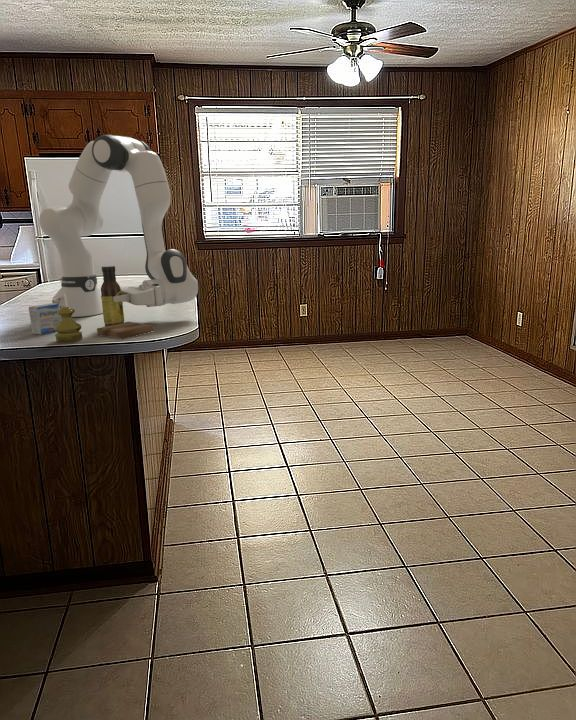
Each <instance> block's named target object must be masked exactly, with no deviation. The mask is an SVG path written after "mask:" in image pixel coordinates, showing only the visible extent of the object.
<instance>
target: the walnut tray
mask: <svg viewBox="0 0 576 720" xmlns="http://www.w3.org/2000/svg"><path fill="white" fill-rule="evenodd" d="M151 331H154V332H155V325H154V324H150V323H149V324H148V323H142V322H134V321H133V322H132V321H126V322H125V321H124V323H120V324H115V325H111V326H106V327H105V326H102V327H98V328H96V333H97V336H101V335H102V336H101V337H107V336H108V337H107V338H113V339H121V340H125V339H129V338H134V337H137V336H136V335H138V336H141V335H140V334H142V335H145V334H144V333H146V334H149V333H148V332H150V333H152V332H151ZM133 336H134V337H133Z"/></svg>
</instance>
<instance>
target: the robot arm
mask: <svg viewBox="0 0 576 720" xmlns="http://www.w3.org/2000/svg"><path fill="white" fill-rule="evenodd" d="M113 171H117V172H123V173H125V172H128V173H129V174H130V176H131V179H132V182H133V186H134V191H135V195H136V200H137V203H138V204H137V205H138V208H139V214H140V220H141V226H142V232H143V238H144V245H145V250H146V258H145V259H146V260H145V265H144V268H145V270H144V271H145V272H146V275H147V277H148V278H149V279H145V280H143V281H142V283H141V284H139V285H138V286H135V285H134V286H120V288H121V294H122V295H120V296H112V301H114V302H123V303H128V304H130V305H134V306H146V307H147V308H153V307H161V306H165V305H167V304H169V305H177V304H179V305H180V304H184V303H185V304H186V303H188V302H191V301H193V300H194V299H196V297H197V296H198V292H199V282H198V280H197V278H196V277H195V276H194V275H193V274H192V272H191V271H190V269H189V266H188V264H187V259H186V257H185V255H184V254H183V252H181V251H179V250H178V249H174V248H170V249H167V250H166V246H165V241H164V236H163V231H162V230H163V229H162V225H163V221H164V217H165V216H166V213H167V212H168V210H169V209H170V207H171V197H172V196H171V189H170V185H169V181H168V177H167V172H166V171H165V167H164V166H163V162H162V160H161V159H160V156H159V155H158V154H157V153H156V152H154V151H152V150H151V148H150V146H149V145H148V144H147V143H145V142H144V141H142V140H140V139H137V138H133V137H130V136H125V135H113V134H102V135H99V136H98V137H96V138H95V140H92V141H89V142H88V143H87V144H86V145H85V147H84V149H83V150H82V152H81V154H80V155H79V158H78V159H77V163H76V165H75V167H74V170H73V172H72V174H71V177H70V180H69V182H68V190H69V191H70V193H71V195H72V201H71V203H70V204H69V205H54V206H50V207H47V208H44V209H43V210H42V211H41V212H40V214H39V218H38V221H39V227H40V229H41V231H42V232H43V233H44V234H45V235H46V236H48V237H49V239H51V242H53V243H54V246H55V248H56V249H57V252H58V255H59V258H60V264H61V271H62V277H61V278H59V282H61V284H60V286H61V287H60V289H59V290H58V291H57V293H55V294H54V296H53V297H52V299H51V301H52V302H51V303H55V304H59V309H62V307H69V308H72V309H74V310H75V312H74V313H73V314H72V316H71V317H72V318H76V317H77V318H78V317H90V316H97V315H100V314H103V308H102V299H101V289H100V288H99V287H98V286H97V285H98V277H97V275H96V274H95V265H94V257H93V253H92V252H91V251H90V249H88V248H87V247H86V246H85V245H84V243H83V240H82V238H81V237H88V236H89V237H90V236H91V235H95V234H97V233H99V232H100V231H101V230H102V228H103V225H104V218H103V215H102V213H101V211H100V203H101V199H102V195H103V193H104V190H105V189H106V186H107V184H108V181H109V178H110V176H111V174H112V172H113ZM60 319H62V317H61V316H60Z"/></svg>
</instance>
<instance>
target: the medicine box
mask: <svg viewBox="0 0 576 720" xmlns="http://www.w3.org/2000/svg"><path fill="white" fill-rule="evenodd" d="M58 310H59V304H55V303H52V302H51V303H45V304H39V305H34V306H29V307H28V313H29V319H30V325H31V326H30V327H31V331H32V334H33V335H40V336H42V334H43V335H46V333H47V334H51V333H55V329H54V327H55V326H56V325H58V324H59V322H60V321H61V319H62V318H60V315H59V314H57V311H58ZM50 332H51V333H50Z"/></svg>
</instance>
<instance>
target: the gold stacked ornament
mask: <svg viewBox="0 0 576 720" xmlns="http://www.w3.org/2000/svg"><path fill="white" fill-rule="evenodd" d="M74 312H75V310H74V309H72V308H69V307H62V309H59V310H58V311H57V314H59V315H60V316H61V317H62V318H60V319H61V321H60V322H59V324H58V325H56V326H55V327H54V329H55V331H56V333H55V340H56V342H57V343H58V344H59V343H60V344H71V343H77V342H80V341H82V340H83V339H84V338H83V331H81V329H82V324H81V323H79V322H76V320H75V319H73V317H71V316H72V314H73V313H74Z"/></svg>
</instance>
